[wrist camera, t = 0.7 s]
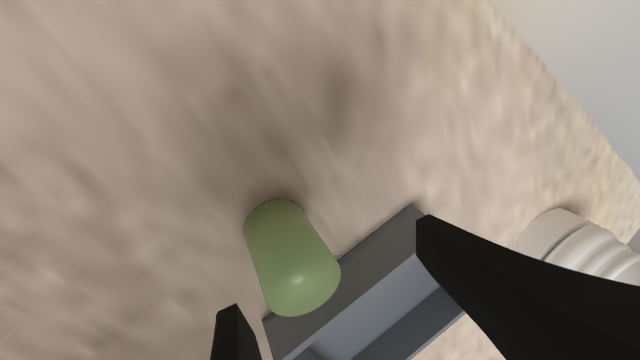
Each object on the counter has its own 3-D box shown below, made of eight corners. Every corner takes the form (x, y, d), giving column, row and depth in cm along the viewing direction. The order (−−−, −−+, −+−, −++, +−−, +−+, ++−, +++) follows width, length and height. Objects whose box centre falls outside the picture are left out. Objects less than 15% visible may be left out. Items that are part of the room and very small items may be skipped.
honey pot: (569, 242, 44) (763, 348, 30) (506, 298, 44) (672, 434, 29) (568, 189, 37) (826, 295, 22) (492, 256, 36) (706, 411, 22)
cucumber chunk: (266, 261, 22) (293, 327, 17) (230, 226, 20) (248, 292, 15) (313, 225, 22) (352, 280, 18) (283, 187, 20) (319, 239, 15)
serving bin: (333, 371, 33) (350, 410, 29) (261, 320, 25) (275, 365, 21) (443, 281, 34) (471, 308, 31) (410, 204, 26) (444, 229, 23)
